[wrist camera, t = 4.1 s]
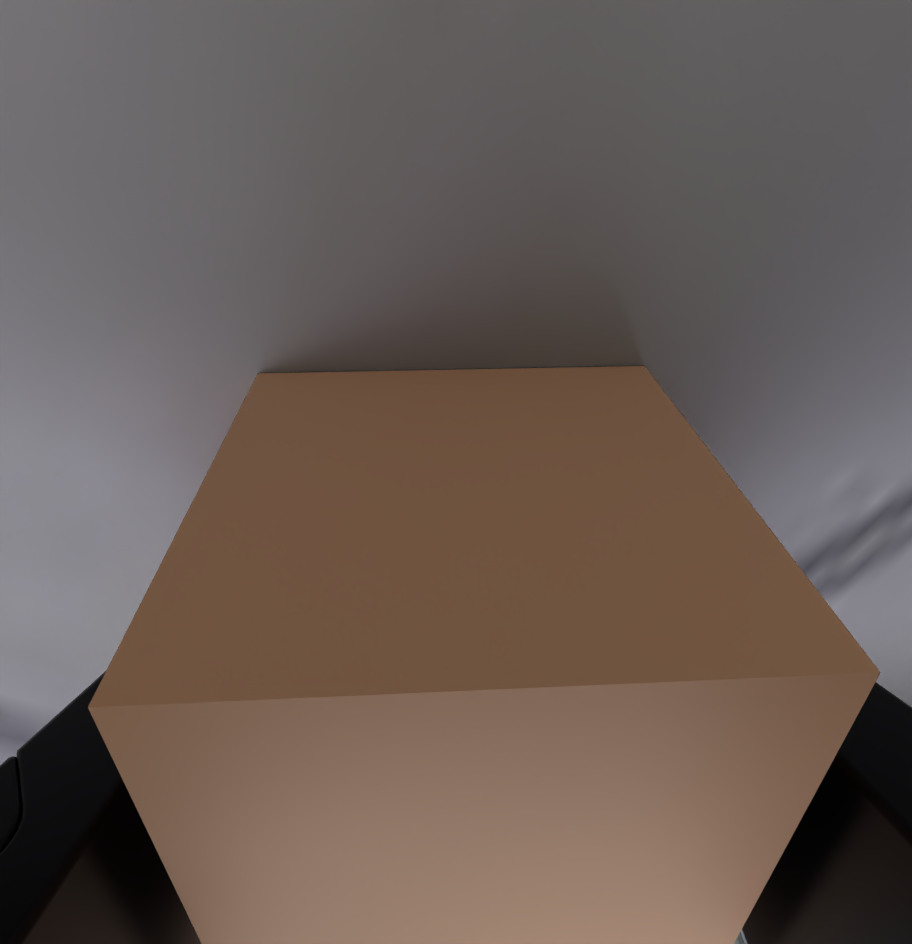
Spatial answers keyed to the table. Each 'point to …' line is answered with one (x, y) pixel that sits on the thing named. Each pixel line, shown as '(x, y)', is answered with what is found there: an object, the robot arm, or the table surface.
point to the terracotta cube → (474, 670)
